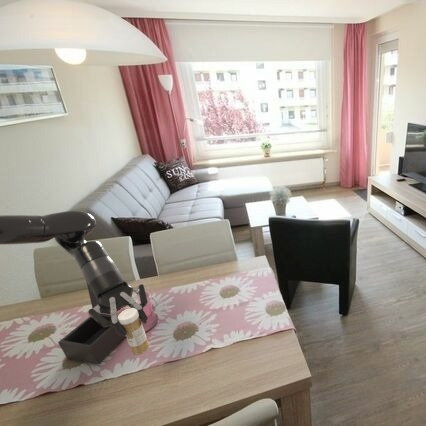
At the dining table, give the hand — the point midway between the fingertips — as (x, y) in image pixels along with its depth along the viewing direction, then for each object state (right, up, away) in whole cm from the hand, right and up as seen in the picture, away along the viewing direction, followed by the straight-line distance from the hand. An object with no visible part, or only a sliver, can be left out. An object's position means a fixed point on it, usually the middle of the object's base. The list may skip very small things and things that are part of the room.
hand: (135, 328), depth 79 cm
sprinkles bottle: (-1, -8, +5) cm, 9 cm away
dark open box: (-30, -17, +27) cm, 44 cm away
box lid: (-29, +1, +28) cm, 40 cm away
